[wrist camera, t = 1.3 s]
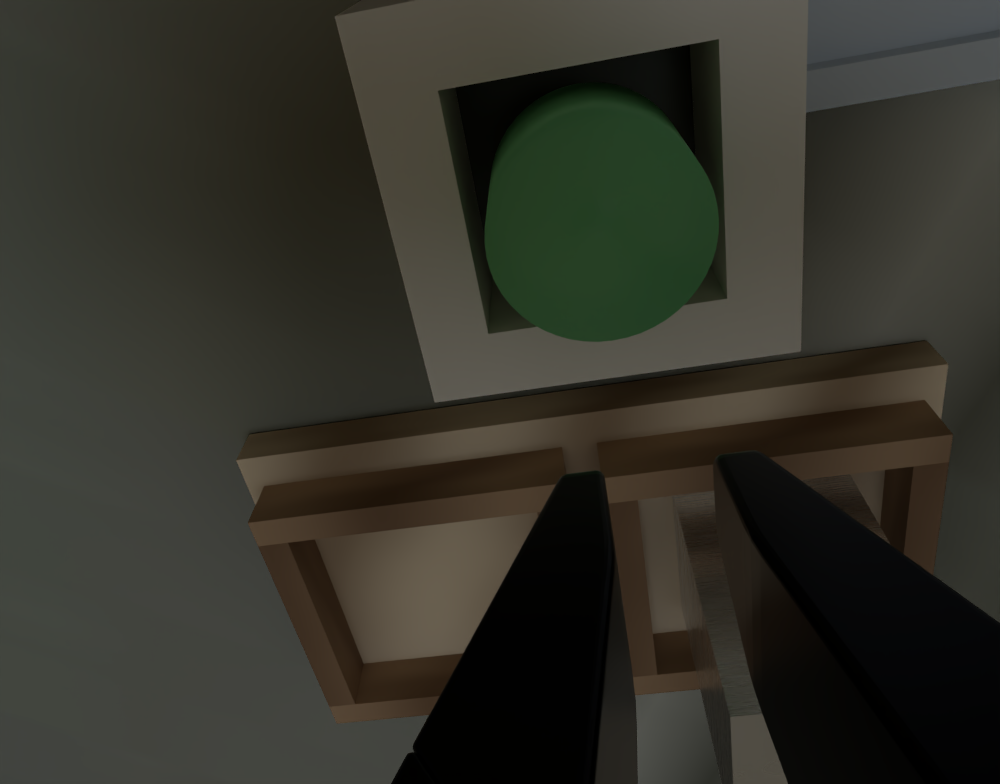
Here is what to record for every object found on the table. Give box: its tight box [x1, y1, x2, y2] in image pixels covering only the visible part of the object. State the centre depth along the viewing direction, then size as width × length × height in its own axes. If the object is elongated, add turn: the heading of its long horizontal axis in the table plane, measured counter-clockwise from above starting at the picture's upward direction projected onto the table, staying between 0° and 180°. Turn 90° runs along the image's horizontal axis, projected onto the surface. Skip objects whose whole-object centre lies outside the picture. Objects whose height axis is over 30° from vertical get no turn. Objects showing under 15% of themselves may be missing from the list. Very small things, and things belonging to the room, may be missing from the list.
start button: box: [485, 82, 719, 342], centre depth 15 cm, size 4×4×3 cm
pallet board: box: [236, 341, 953, 724], centre depth 23 cm, size 18×10×3 cm, turn 100°
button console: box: [335, 0, 808, 403], centre depth 17 cm, size 8×8×3 cm
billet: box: [672, 474, 891, 784], centre depth 19 cm, size 4×4×7 cm
